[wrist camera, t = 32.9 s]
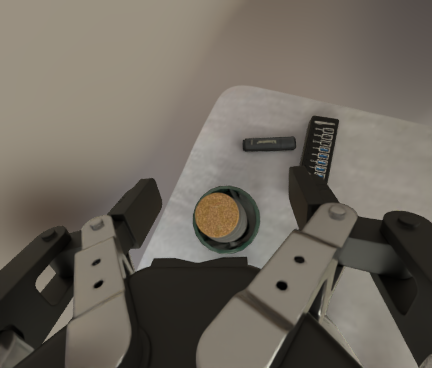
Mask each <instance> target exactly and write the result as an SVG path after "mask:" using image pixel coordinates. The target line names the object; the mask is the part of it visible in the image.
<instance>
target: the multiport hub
mask: <svg viewBox="0 0 432 368" xmlns="http://www.w3.org/2000/svg"><path fill="white" fill-rule="evenodd" d="M338 124H339V120H338V119H333V118H327V117H320V116H312V118H311V120H310V122H309V125H308V129H307V134H306V138H305V143H304V148H303V152H302V157H301V161H300V166H305V167H306V169H307V171H308V172H309V174H317V175H319V176H320V177H322V178H323V179H324V181H325V182H326V184H327V183H328V177H329V172H330V167H331V161H332V156H333V151H334V145H335V140H336V135H337V129H338Z"/></svg>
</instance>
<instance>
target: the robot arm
mask: <svg viewBox="0 0 432 368" xmlns="http://www.w3.org/2000/svg"><path fill="white" fill-rule="evenodd" d="M289 200H290V204H291V206H292V209H293V212H294V215H295V218H296V221H297V224H298V227H299V230H300V231H299V230H297V229H294V230H293V231H292V232H291V233H290V234H289V236H288V237H287V238H286V239H285V241H284V242H283V243H282V244H281V246H280V247H279V248H278V249H277V251H276V252H275V253H274V254H273V256H272V257H271V258H270V259H269V261H268V262H267V263H266V264H265V265H264V267H263V268H262V269H259V268H257V267H254V266H251V265H248V262H247V257H222V258H218V259H214V260H209V261H205V262H201V263H194V262H190V261H185V260H181V259H177V258H155V259H153V261H152V264H151V266H150V267H146V268H143V269H141V270H139V271H137V272H136V271H135V268H134V265H133V261H132V258H131V255H130V253H129V250H130V249H136V248H140V247H141V245H142V244H143V242H144V240H145V238H146V236H147V234H148V232H149V231H150V229H151V227H152V225H153V223H154V221H155V219H156V218H157V216H158V214H159V212H160V210H161V208H162V199H161V196H160V193H159V190H158V187H157V184H156V181H155V180H154V179H153V178H149V179H141V180H139V182H138V183H137V184H136V185H135V186H134V187H133V188H132V189H130V190H129V191H127V192H126V193H125V194H124V196H123V197H122V198H121V199H120V200H119V201H118V203H117V204H116V205H115V206H114V207H113V208H112V209H111V210H110V212H109V213H108V214H107V215H102V216H98V217H95V218H93V219H91V220H90V221H88V222H87V223H86V224H85V225H84V226H83V227H82V230H80V231H77V232H73V233H69V232H68V231H67V229H66V228H65V227H64V226H57V227H53V228H51V229H48V230H47V231H45V232H43V233H41V234H40V235H39V236H37V237H36V238H35V239H34V240H33V241H32V242H31V243H30V244H29V245H28V246H26V247H25V248H24V249H23V250H22V251H21V252H20V253H19V254H18V255H17V256H16V257H14V258H13V259H12V260H11V261H10V262H9V263H8V264H7V265H6V266H5V267H4V268H3V269H1V270H0V368H363V367H362V366H361V365H360V364H359V363H358V362H357V361H356V360H355V359H354V358H353V357H352V356H351V355H350V354H349V353H348V352H347V351H346V350H345V349H344V348H343V347H342V346H341V345H340V344H339V343H338V342H337V341H336V340H335V339H334V338H333V337H332V336H331V335H330V334H329V333H328V331H327V330H326V329H325V328H324V327H323V326H322V325H321V323H322V321H323V318H324V316H325V313H326V311H327V308H328V304H329V302H330V299H331V297H332V294H333V292H334V290H335V288H336V286H337V284H338V282H339V280H340V277H341V275H342V273H343V271H344V269H345V267H351V268H355V269H359V270H363V271H367V272H369V273H370V275H371V277H372V278H373V280H374V282H375V284H376V286H377V288H378V290H379V292H380V294H381V296H382V298H383V300H384V301H385V303H386V305H387V307H388V309H389V311H390V313H391V315H392V317H393V319H394V321H395V323H396V324H397V326H398V328H399V330H400V332H401V334H402V336H403V338H404V340H405V342H406V344H407V346H408V347H409V349H410V351H411V353H412V355H413V357H414V359H415V361H416V363H417V365H418V367H419V368H432V223H431V222H430V221H429V220H427V219H425V218H424V217H422V216H419V215H417V214H414V213H410V212H406V211H390V212H388V213H386V214H385V215H384V217H383V220H377V219H370V218H364V217H360V216H358V215H357V213H356V211H355V210H354V209H353V208H351V207H349V206H347V205H345V204H341V203H339V201H338V200H337V198H336V197H335V195H334V194H333V192H332V191H331V189H330V188H329V186H328V185H327V184H326V182H325V181H324V179H323V178H322V177H320V176H319V175H317V174H309V172H308V171H307V169H306V167H305V166H294V167H290V168H289ZM48 265H50V266H51V267H52V268H53V270H54V271H55V272H56V274H55V276H54V277H53V278H52V279H51V281H50V282H49V283H48V284H47V286H46V287H45V288H44V289H43V290H42V292H41V293H40V292H39V291H38V290H37V289H36V286H35V283H36V280H37V278H38V276H39V275H40V274H41V273H42V272H43V270H45V268H46V267H47V266H48ZM73 296H74V299H73V317H72V319H71V320H70V321H69V323H68V324H67V325H66V326H65V327H63V328H62V329H61V330H59V331H58V332H57V333H56V334H54V335H53V336H52V337H51V338H50V339H48V340H47V341H45V342H44V340H45V339H46V337H47V336H48V334H49V333H50V331H51V330H52V328H53V327H54V325H55V324H56V322H57V320H58V319H59V317H60V316H61V314H62V313H63V311H64V310H65V308H66V307H67V305H68V304H69V302H70V301H71V299H72V298H73ZM43 342H44V343H43ZM42 343H43V344H42Z"/></svg>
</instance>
